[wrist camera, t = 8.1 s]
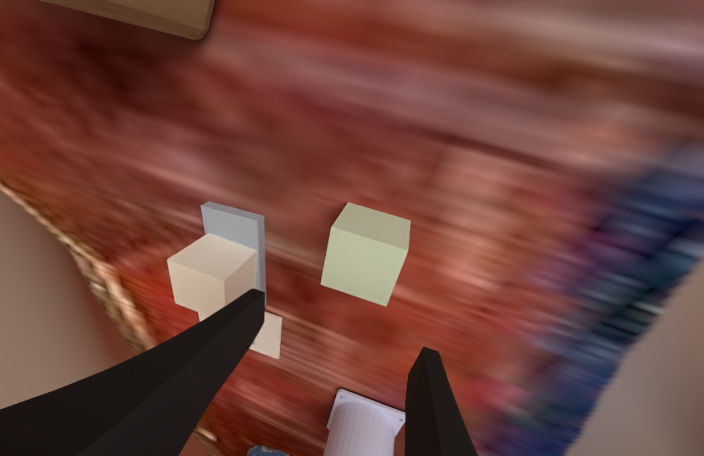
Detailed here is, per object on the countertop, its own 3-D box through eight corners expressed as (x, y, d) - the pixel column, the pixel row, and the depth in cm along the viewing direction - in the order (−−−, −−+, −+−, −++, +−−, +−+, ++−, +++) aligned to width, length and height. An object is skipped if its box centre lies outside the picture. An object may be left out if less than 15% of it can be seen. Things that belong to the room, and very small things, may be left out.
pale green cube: (392, 269, 19) (386, 306, 16) (337, 252, 20) (320, 284, 16) (410, 220, 17) (408, 250, 14) (348, 201, 18) (331, 226, 14)
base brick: (269, 299, 25) (261, 310, 24) (226, 286, 26) (215, 296, 25) (267, 213, 20) (257, 220, 19) (214, 198, 21) (200, 205, 20)
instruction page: (279, 357, 29) (277, 360, 28) (202, 329, 30) (200, 331, 29) (282, 317, 25) (280, 319, 25) (195, 286, 26) (193, 288, 26)
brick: (255, 288, 23) (225, 323, 19) (211, 272, 23) (175, 303, 20) (257, 250, 20) (224, 281, 17) (208, 232, 21) (166, 259, 17)
